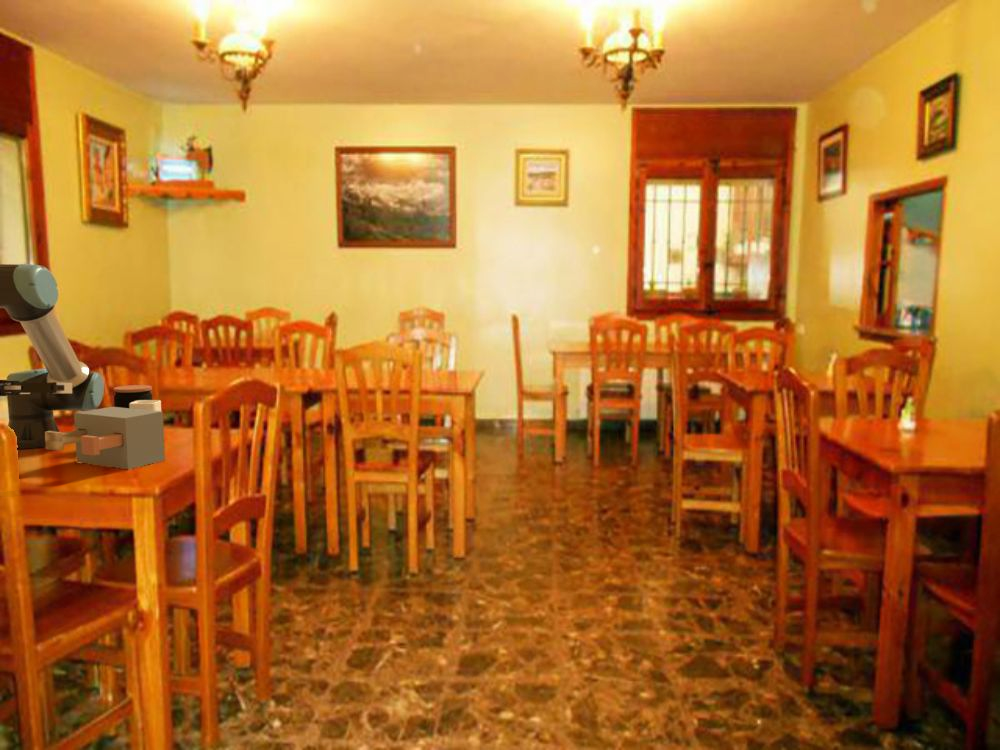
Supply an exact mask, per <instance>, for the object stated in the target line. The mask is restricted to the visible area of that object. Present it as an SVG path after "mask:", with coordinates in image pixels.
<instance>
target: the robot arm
mask: <svg viewBox="0 0 1000 750" xmlns="http://www.w3.org/2000/svg"><path fill="white" fill-rule="evenodd" d="M57 287H58V283H57V280H56V278H55V276H54V275H53V273H52V272H51V271H50V269H48V268H47V267H45V266H43V265H38V264H30V263H20V264H17V263H16V264H12V263H11V264H7V263H5V264H4V263H2V264H1V263H0V309H5V311H6V312H7V315H8V317H10V318H11V319H12V321H16V322H19V323H20V324H21V326H22V328H23V330H24V332H25V334H26V335H27V337H28V339H29V340H30V342H31V344H32V346H33V348H34V350H35V351H36V353H37V355H38V356H39V359H40V360H41V362H42V364H43V366H44V368H38V369H29V370H23V371H17V372H13V373H9V374H8V375H7V377H6V379H0V397H6V399H7V410H8V411H7V413H8V423H7V427H8V426H9V427H10V428H11V429H13V430H14V432H15V434H16V436H17V445H18V449H19V450H22V449H24V450H25V449H36V448H38V449H39V448H46V442H45V432H47V431H55V432H61V431H60V430H59V428H58V425H57V423H56V420H55V418H54V411H68V412H69V411H70V412H71V411H75V412H76V411H77V412H83V411H89V410H95V409H98V408H99V406H100V405H101V403H102V400H103V398H104V389H105V383H104V377H103V376H102V374H101V373H100V372H96V371H93V372H91V370H90V368H89V366H88V365H87V364H86V363H84V362H83V361H79V359H78V357H77V355H76V353H75V350H74V349H73V347H72V345H71V343H70V342H69V338H68V337H67V335H66V334H65V331H64V329H63V328H62V325H61V323H60V321H59V319H58V317H57V315H56V313H55V312H54V309H55V307H56V304H57V301H58V298H59V289H58V288H57ZM18 449H17V450H18Z"/></svg>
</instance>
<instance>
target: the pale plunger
mask: <svg viewBox="0 0 1000 750" xmlns="http://www.w3.org/2000/svg"><path fill="white" fill-rule="evenodd" d="M85 435H87V430H86V429H80V430H75V429H74V430H70V431H65V432H61V431H60V432H55V431H47V432H45V442H46V446H45V450H50V451H62V450H63V449H64V446H67V445H71V444H76V443H77V442H81V436H85Z"/></svg>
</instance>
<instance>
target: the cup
mask: <svg viewBox="0 0 1000 750" xmlns="http://www.w3.org/2000/svg"><path fill="white" fill-rule="evenodd" d="M129 408H131V409H141V410H152V411H162V401H161V400H160V399H153V400H138V401H134V402H131V403H129Z"/></svg>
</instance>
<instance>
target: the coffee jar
mask: <svg viewBox="0 0 1000 750" xmlns="http://www.w3.org/2000/svg"><path fill="white" fill-rule="evenodd" d="M152 389H153V386H152V385H147V384H145V385H144V384H139V385H138V384H134V385H133V384H132V385H122V386H116V387H114V388H113V392H114V393H115V394H114V395H113V407H120V408H129V403H131V402H134V401H138V400H154V399H153V394H152V393H151V392H152Z"/></svg>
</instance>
